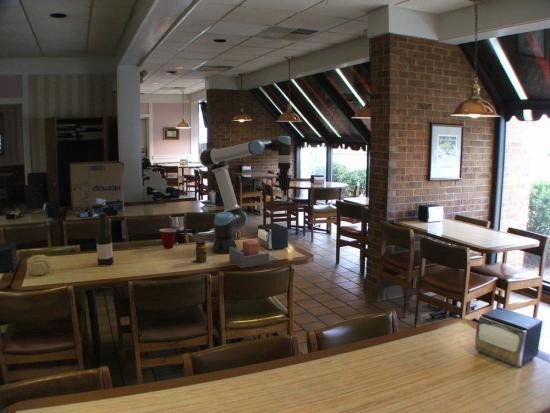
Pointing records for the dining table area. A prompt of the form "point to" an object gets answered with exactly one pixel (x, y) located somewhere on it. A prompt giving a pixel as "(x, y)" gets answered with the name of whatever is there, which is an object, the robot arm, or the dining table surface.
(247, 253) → the red block
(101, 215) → the wine bottle
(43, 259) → the sculpture
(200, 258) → the condiment
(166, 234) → the plastic cup
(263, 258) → the grey open bin
